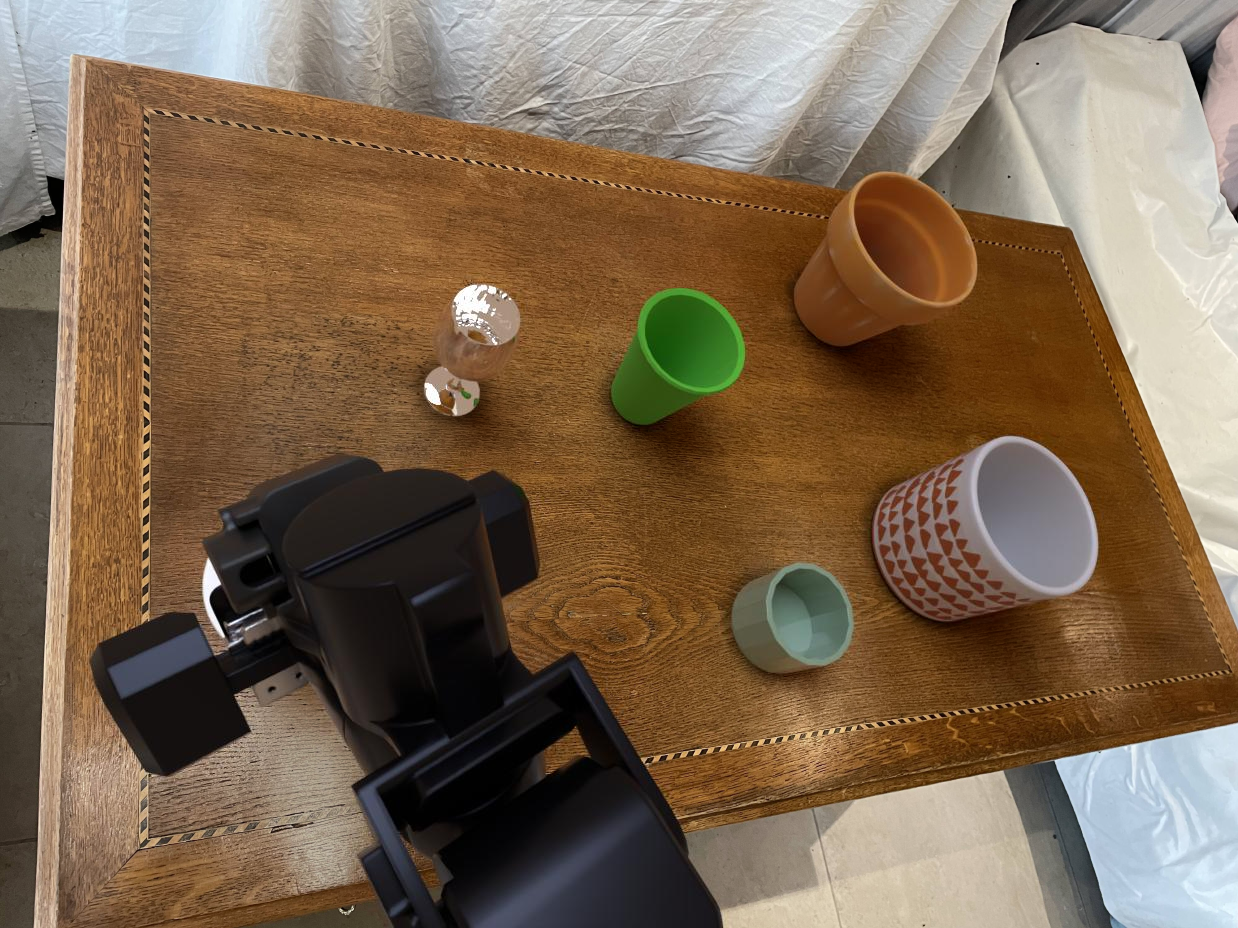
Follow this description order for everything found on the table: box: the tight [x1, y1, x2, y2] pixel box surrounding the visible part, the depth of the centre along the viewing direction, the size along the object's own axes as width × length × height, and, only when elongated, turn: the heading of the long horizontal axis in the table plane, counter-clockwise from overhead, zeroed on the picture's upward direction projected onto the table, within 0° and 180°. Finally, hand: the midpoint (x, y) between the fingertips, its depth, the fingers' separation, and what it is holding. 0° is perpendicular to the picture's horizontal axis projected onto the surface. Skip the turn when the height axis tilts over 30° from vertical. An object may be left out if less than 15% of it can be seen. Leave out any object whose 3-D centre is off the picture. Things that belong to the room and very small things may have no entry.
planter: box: [871, 435, 1099, 622], centre depth 70 cm, size 14×14×13 cm
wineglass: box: [423, 283, 521, 417], centre depth 57 cm, size 6×6×12 cm
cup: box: [610, 287, 746, 426], centre depth 64 cm, size 9×9×11 cm
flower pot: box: [793, 171, 978, 347], centre depth 76 cm, size 14×14×13 cm
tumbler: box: [730, 562, 855, 675], centre depth 64 cm, size 8×8×6 cm
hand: (288, 531), depth 41 cm, fingers closed on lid, 2 cm apart
